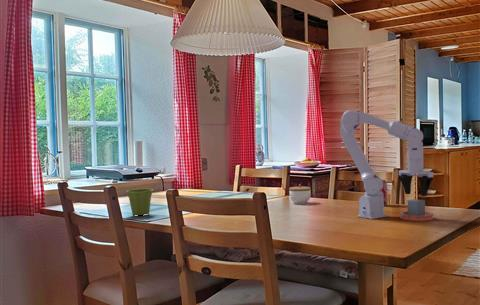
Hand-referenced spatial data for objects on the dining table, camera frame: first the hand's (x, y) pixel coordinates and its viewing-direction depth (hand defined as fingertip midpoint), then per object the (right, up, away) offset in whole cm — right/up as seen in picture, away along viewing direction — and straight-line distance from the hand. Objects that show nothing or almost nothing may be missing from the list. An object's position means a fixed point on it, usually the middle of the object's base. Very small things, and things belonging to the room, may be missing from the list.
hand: (415, 194), depth 180 cm
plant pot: (-112, -12, +28) cm, 116 cm away
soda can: (-3, -8, +36) cm, 37 cm away
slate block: (0, -8, 0) cm, 8 cm away
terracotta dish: (0, -9, 0) cm, 9 cm away
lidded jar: (-38, -9, +51) cm, 64 cm away
